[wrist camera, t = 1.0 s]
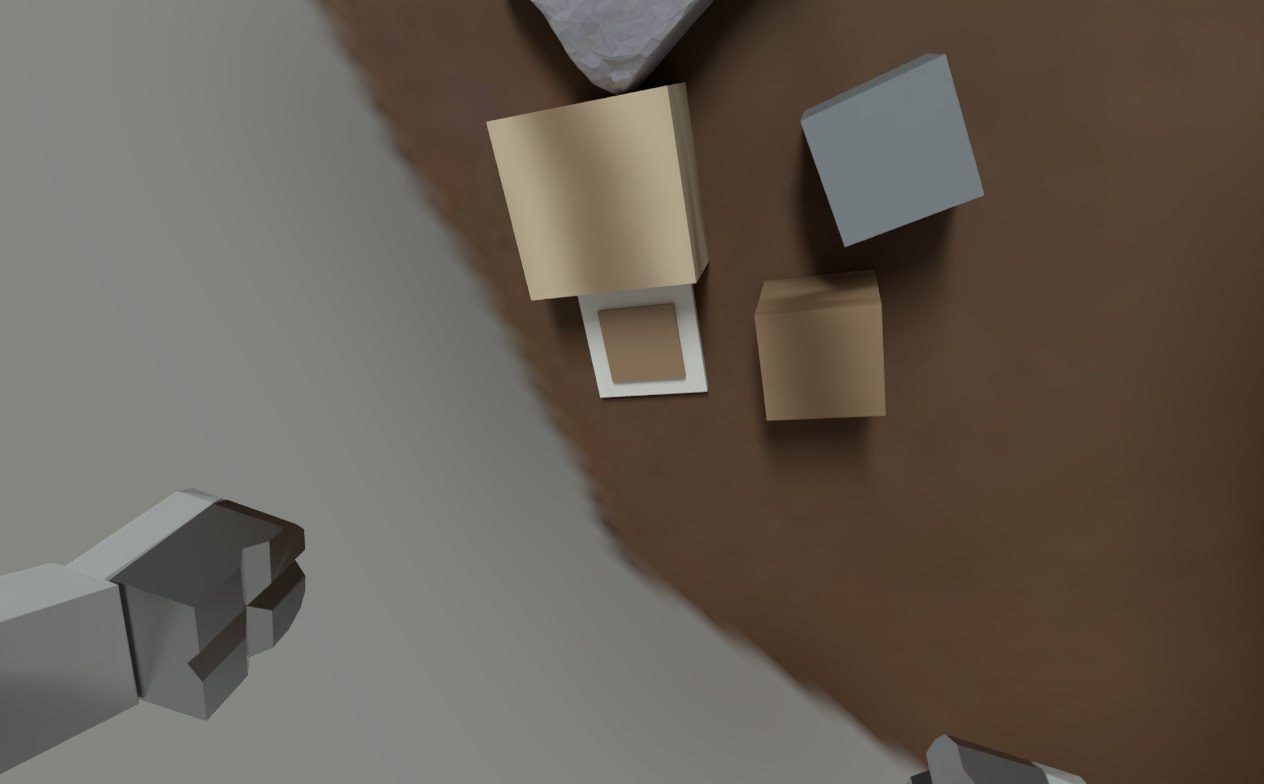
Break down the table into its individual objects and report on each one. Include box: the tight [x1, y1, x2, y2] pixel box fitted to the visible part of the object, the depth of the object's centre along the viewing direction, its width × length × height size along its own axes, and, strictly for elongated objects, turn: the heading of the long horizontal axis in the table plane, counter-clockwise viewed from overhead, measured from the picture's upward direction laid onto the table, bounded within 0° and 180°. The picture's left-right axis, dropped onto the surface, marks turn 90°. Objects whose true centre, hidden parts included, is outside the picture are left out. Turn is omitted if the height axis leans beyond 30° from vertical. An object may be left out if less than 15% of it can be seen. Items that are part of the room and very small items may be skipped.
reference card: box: [578, 283, 708, 398], centre depth 35 cm, size 6×6×1 cm
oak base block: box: [486, 82, 710, 300], centre depth 31 cm, size 8×8×4 cm
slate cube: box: [800, 54, 984, 247], centre depth 26 cm, size 5×5×5 cm
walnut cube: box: [755, 269, 886, 421], centre depth 31 cm, size 5×5×5 cm
